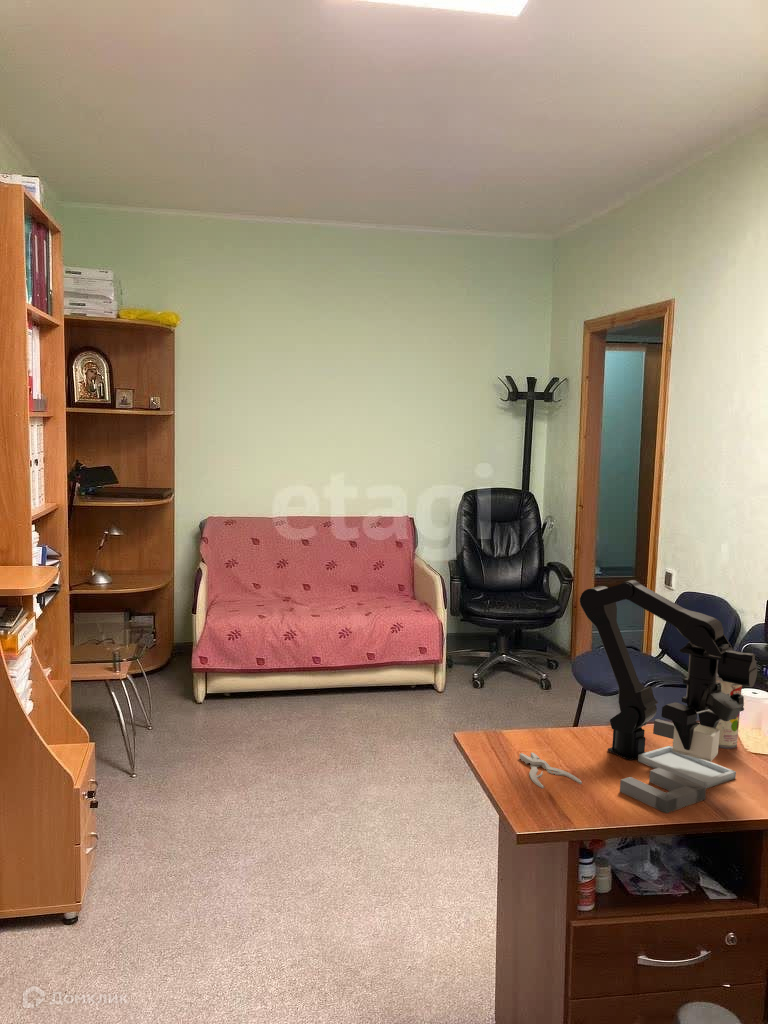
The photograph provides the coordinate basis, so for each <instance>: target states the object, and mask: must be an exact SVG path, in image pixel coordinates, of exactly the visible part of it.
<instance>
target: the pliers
mask: <svg viewBox="0 0 768 1024" xmlns="http://www.w3.org/2000/svg"><path fill="white" fill-rule="evenodd" d="M518 757H519V760H520V759H521V760H520V761H521V762H523V761H524V762H525V763H524V762H523V763H524V764H526V765H529V767H530V768H531V769H530V771H529V772H528V773H529V779H530V781H532V782H533V783H534V784H535V785H536V786H537V787H539V788H541V789H545V786H544V785H543V784H542V783H541V781H540V780H539V779H540V778H541V777H543V774H544V773H543V772H544V771H543V770H545V769H546V773H547V772H548V773H547V774H551V775H554V774H555V775H556V776H562V777H563V776H564V777H566V778H568V779H571V780H573V781H574V782H576V783H578V784H579V785H581V784H583V781H582V780H581V779H580V778H578V777H577V776H575V775H573V774H572V773H571V772H568V771H565V770H563V769H560V768H556V767H552V766H551V765H550V764H549V763H548V762H547V761H546V760H543V759H540V757H539V756H538V755H537V754H536V753H535V752H530V756H528V755H527V754H525V753H523V752H521V753H519V756H518ZM529 763H530V764H529ZM540 766H541V767H542V769H543V768H544V769H543V770H542V771H541V772H540V774H538V772H539V769H538V768H540ZM552 771H553V772H552Z"/></svg>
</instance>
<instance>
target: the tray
mask: <svg viewBox="0 0 768 1024" xmlns="http://www.w3.org/2000/svg"><path fill="white" fill-rule="evenodd" d="M672 748H673V745H668V746H667V745H666V746H663V747H660V748H656V749H653V750H650V751H645V752H646V753H643V754H639V755H638V758H637V762H639V763H642V764H644V765H645V766H648V767H650V768H653V769H656V768H661V769H663V770H666V771H668V772H671V773H673V774H675V775H678V776H680V777H682V778H685V779H687V780H690V781H692V782H694V783H697V784H699V785H701V786H704V787H706V790H707V789H708V788H709V789H710V788H712V787H714V786H718V785H721V784H723V783H726V782H729V781H731V780H735V779H736V775H737V773H736V772H737V771H736V770H734V769H731V768H727V767H725V766H723V765H720V764H717V763H715V762H713V761H711V762H709V761H706V760H702V759H698V758H695V757H691V756H688V755H684V754H680V753H677V752H673V751H672Z"/></svg>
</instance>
